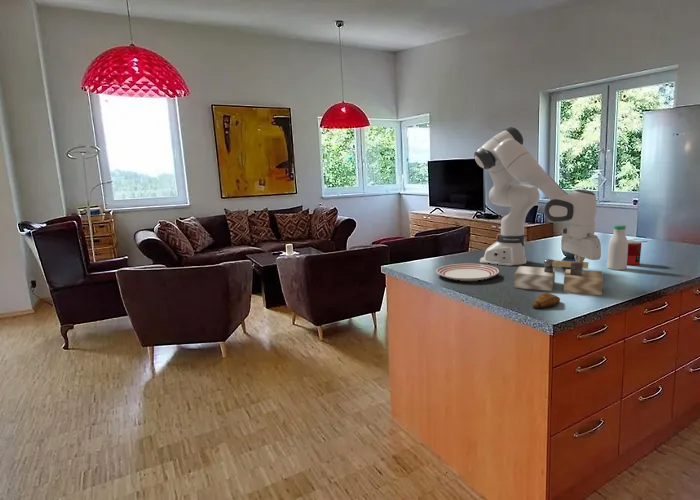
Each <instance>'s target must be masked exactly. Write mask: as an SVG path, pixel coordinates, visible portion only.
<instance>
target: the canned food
mask: <svg viewBox="0 0 700 500" xmlns="http://www.w3.org/2000/svg"><path fill="white" fill-rule="evenodd" d="M627 241H628V255H627V267H628V266H629V267H630V266H631V267H635V266H640V263H641V256H642V255H641V253H642V241H641V240H632V239H627Z"/></svg>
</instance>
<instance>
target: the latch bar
mask: <svg viewBox="0 0 700 500" xmlns="http://www.w3.org/2000/svg"><path fill="white" fill-rule="evenodd" d="M571 263H583V265H582V269H585V270H586V269H589V262H588V261H583V262H576V260H575V261H574V260H573V261H571V260H558V259H557V260H556V259H551V258H546V259H544V260H543V266H546V267H553V268H554V267H558V268H559V267H560V268H571Z"/></svg>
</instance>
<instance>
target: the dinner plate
mask: <svg viewBox="0 0 700 500" xmlns="http://www.w3.org/2000/svg"><path fill="white" fill-rule="evenodd" d="M435 272H436V274H438V275H440V276H441V277H444V278H446V279H449V280H452V279H453V280H452V281H457V280H460V281H459V282H479V281H478V280H481V281H484V279H485V280H487V279H490V278H493V277H495V276H497V275H498V274H499V273H500V270H499V269H498V267H496V266H492V265H489V264H483V263H482V264H481V263H453V264H448V265H442V266H440V267H438V268H437V269H436V270H435Z"/></svg>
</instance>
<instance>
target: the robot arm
mask: <svg viewBox="0 0 700 500" xmlns="http://www.w3.org/2000/svg"><path fill="white" fill-rule="evenodd" d="M523 144H524V138H523V135H522V132H520V130H518V128H516V127H513V126H509V127H507V128H505V129H503V131H501V132H499V133H497V134H495V135H494V136H492V137H491V138H490V139H489V140H488V141H487V140H486V142H485V143H484V144H482V145H481V146H479V147H478V148H477V149H476V150H475V152H474V160H475V162H476V164H477V166H479V167H480V168H481V169H483V170H487V171H488V173H489V176H490V178H491V180H492V183H493V186H492V187H491V188H490V190H489V192H488V199H489V202H490V203H491V204H492V205H495V206H498V207H508V208H509V207H510V209H509V212H508V214H506V215H504V216H503V217H502V218H501V221H500V233H498V234H497V235H496V238H495V239H496V241H495V242H494V243H492V244H491V245H489V246H488V247H487V248H486V249H485V252H484V256H482V257H480V258H479V262H480V264H481V263H482V264H488V263H490V264H491V265H497V264H498V265H499V266H508V267H509V266H510V267H512V266H516V265H517V266H521V265H524V264H527V258H526V254H525V245H526V235H525V224H526V217H527V215H528V213H529V212H530V210H531V209H532V208H533V207H534V206H536V205H537V204H538V203H539V200H540V197H541V196H540V191H541V192H542V193H543V194H544V195H545V197H546V198H547V199H548V200H549V201H548V202H546V204H545V206H544V215H545V216H546V218H547V219H548V220H549V221H550V222H554V223H562V222H569V226H566V227H562V229H561V243H560V244H561V245H560V247H561V250H562V251H564V252H566V253H569V254H572V255H574V260H575V262H585V259H588V260H590V261H598V260H600V259H601V258H602V257H601V256H602V244H601V241H600V239H599V237H598V235H597V234H595V231H596V229H595V228H596V222H595V221H596V220H595V217H596V214H597V196H596V194H595V192H593V191H591V190H586V189H581V188H579V189H577V188H576V189H574V190H573V191H572V192H570V193H567V192H566V191H565V190H564V189H563V188H562V187H561V186H560V185H559V184H558V183H557V182H556V181H555V180H554V179H553V178H552V177H551V176H550V175H549V174H548V173H547V172H546V171H545V169H544V168H543V167H542V166H541V165H540V163H539V162H538V161H537V160H536V159H535V157H534V156H533V155H532V154H531V153H530V151H528V150H527V148H525V147H524V145H523ZM514 179H515V180H517V181H518V182H519V183H522V184H516V183H515V184H514V183H513V182H512V181H514ZM523 183H525V184H523ZM539 190H540V191H539ZM490 264H489V265H490Z"/></svg>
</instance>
